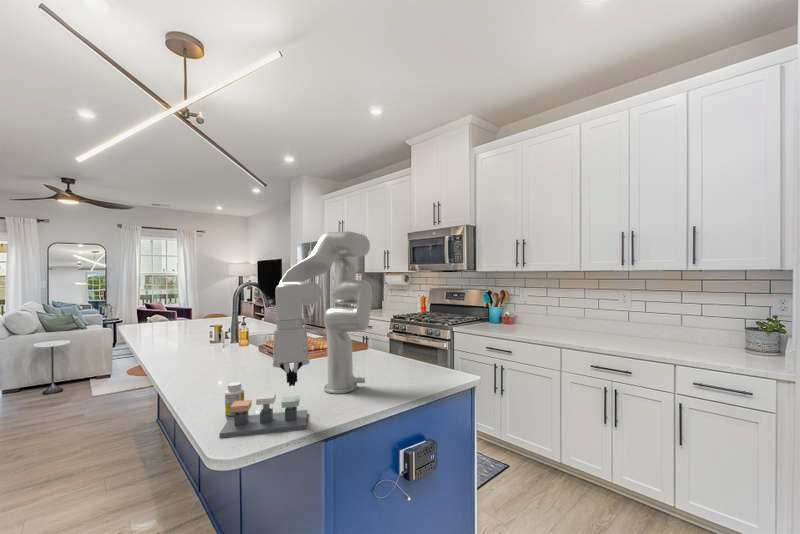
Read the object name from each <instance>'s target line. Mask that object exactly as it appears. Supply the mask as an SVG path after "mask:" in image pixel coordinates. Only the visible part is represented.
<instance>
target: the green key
mask: <svg viewBox="0 0 800 534" xmlns="http://www.w3.org/2000/svg"><path fill="white" fill-rule="evenodd" d="M300 400H301V399H300V395H295V396H293V395H291V396H283V397H282V400H281V408H282V409H283V408H285V409H286V407H288V410H294V407H297V408H298V407H300Z"/></svg>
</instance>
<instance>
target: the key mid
mask: <svg viewBox="0 0 800 534" xmlns="http://www.w3.org/2000/svg"><path fill="white" fill-rule="evenodd" d="M276 395H277V393H276V392H271V393H259V394H258V395H257V397H256V399H255V402H256V403H255V404H256V406H262V409H263V412H269V411H270V407H271V406H270V405H271V404H272V405H273V404H275V401H276V399H277V397H276Z"/></svg>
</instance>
